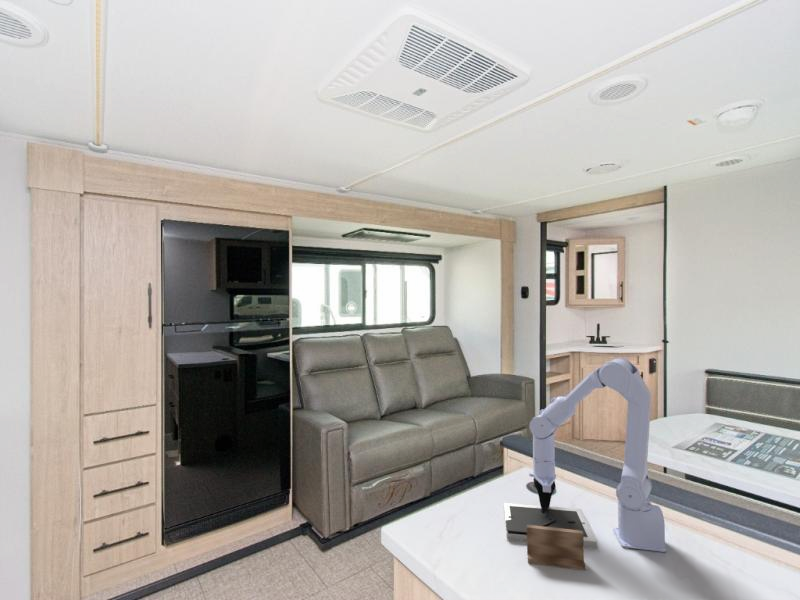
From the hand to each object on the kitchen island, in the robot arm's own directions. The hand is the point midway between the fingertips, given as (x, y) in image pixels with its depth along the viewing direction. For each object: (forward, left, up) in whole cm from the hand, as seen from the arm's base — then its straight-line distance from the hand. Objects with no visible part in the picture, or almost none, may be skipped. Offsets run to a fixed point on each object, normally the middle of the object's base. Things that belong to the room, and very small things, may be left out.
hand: (544, 506), depth 114 cm
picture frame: (0, +8, -2) cm, 8 cm away
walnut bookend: (0, +23, -1) cm, 23 cm away
